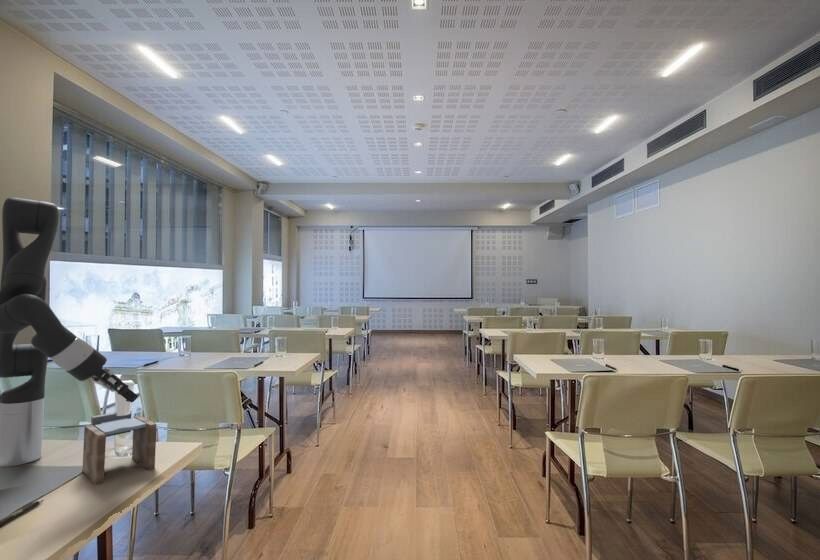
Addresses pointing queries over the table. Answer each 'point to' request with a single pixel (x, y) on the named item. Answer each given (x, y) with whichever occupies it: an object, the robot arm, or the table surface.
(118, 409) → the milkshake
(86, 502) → the table surface
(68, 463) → the table surface
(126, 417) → the trapdoor
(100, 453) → the stand
